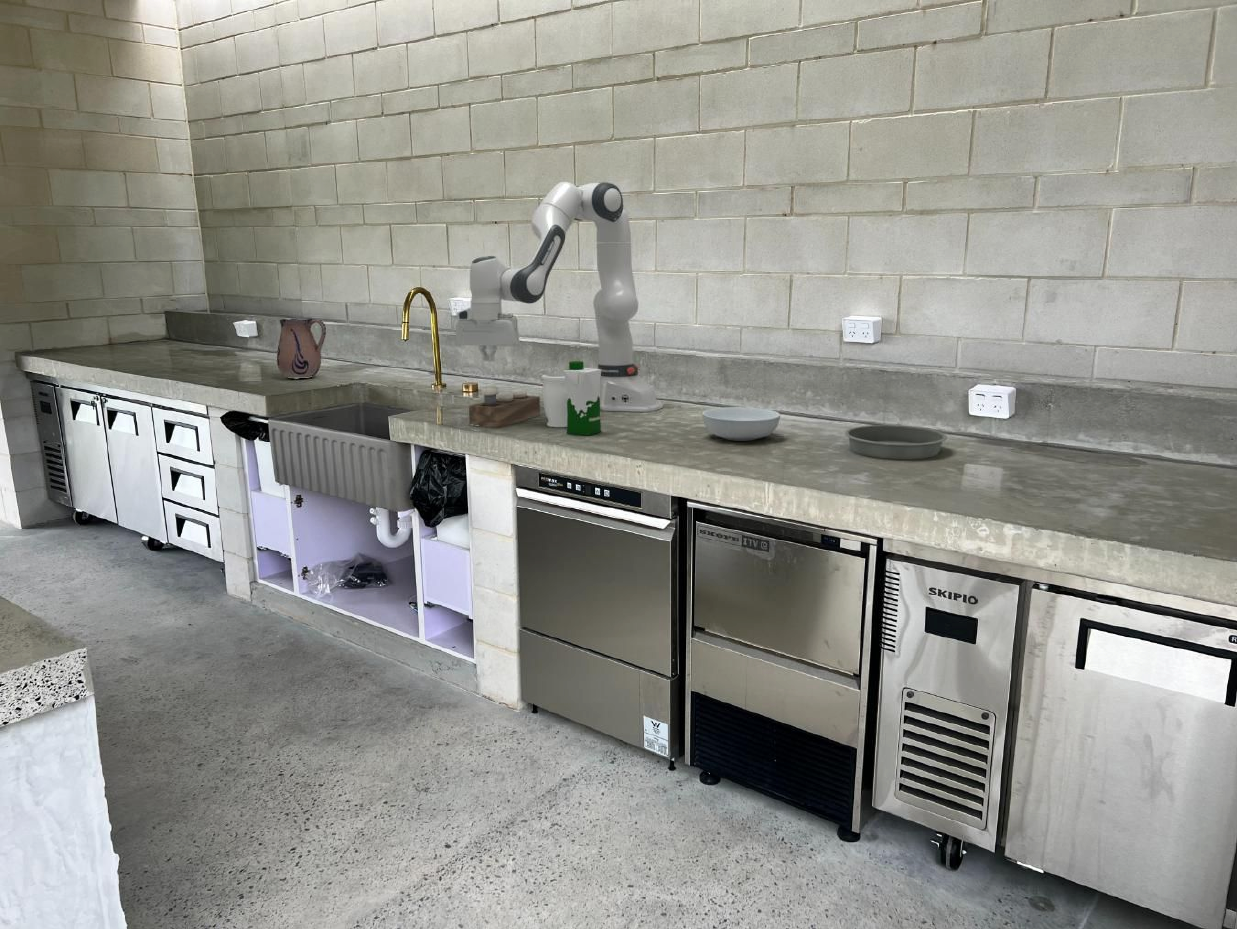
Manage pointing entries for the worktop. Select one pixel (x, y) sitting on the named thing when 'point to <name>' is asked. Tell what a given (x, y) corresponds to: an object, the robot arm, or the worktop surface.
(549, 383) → the white cup
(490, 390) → the knob
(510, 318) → the robot arm
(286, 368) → the ceramic pitcher
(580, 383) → the milk carton
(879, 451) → the cake pan
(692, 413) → the worktop surface
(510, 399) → the knob middle
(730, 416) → the serving bowl
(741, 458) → the worktop surface
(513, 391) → the knob
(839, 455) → the worktop surface
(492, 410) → the knob mount
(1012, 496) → the worktop surface
